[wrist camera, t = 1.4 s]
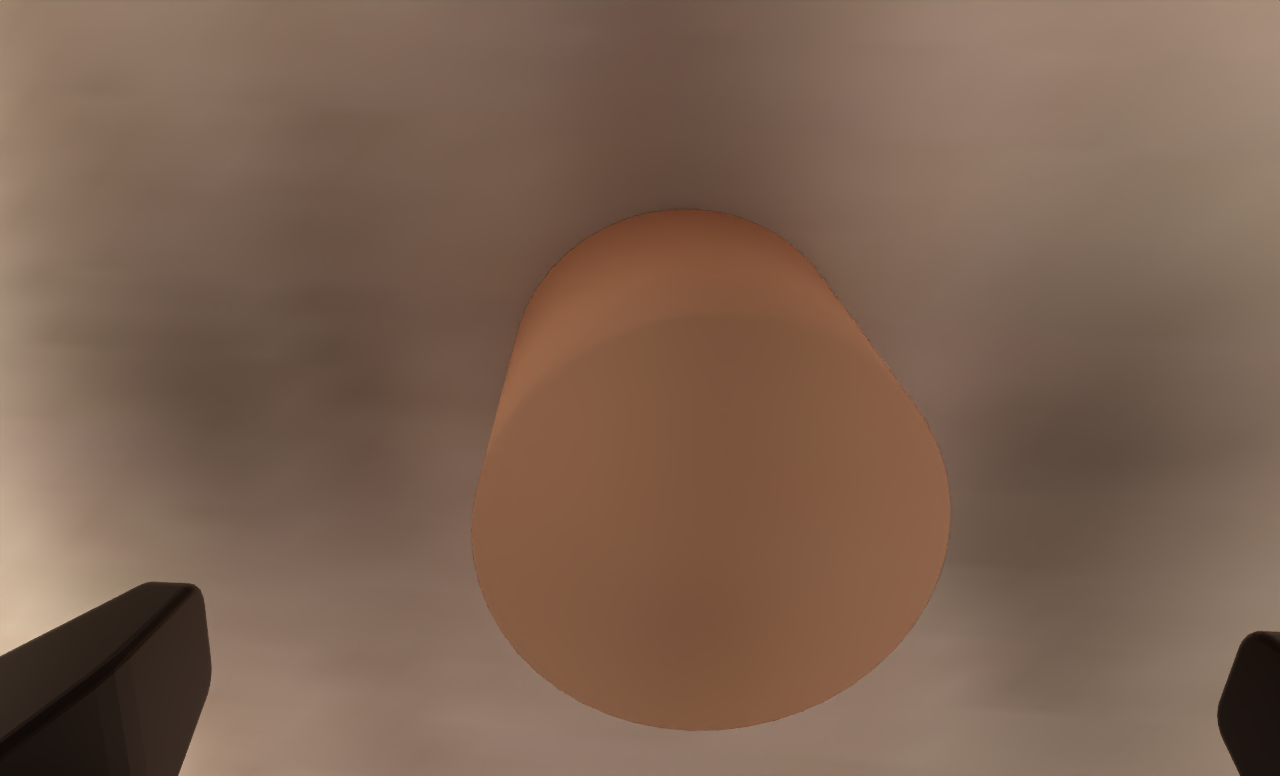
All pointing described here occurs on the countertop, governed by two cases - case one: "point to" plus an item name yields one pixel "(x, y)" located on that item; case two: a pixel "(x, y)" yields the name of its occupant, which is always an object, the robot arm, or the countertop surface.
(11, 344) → the countertop surface
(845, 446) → the tan cylinder
